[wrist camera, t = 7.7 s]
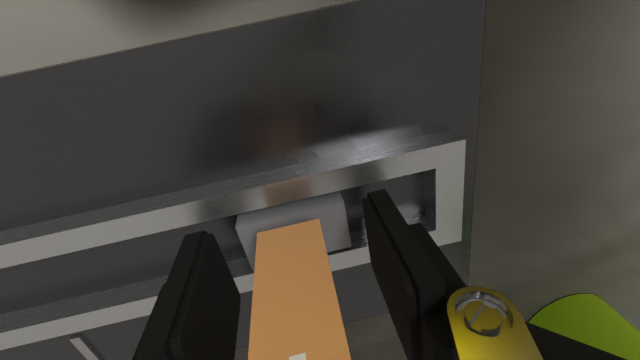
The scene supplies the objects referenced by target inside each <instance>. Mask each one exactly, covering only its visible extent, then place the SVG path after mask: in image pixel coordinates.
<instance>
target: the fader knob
mask: <svg viewBox="0 0 640 360" xmlns="http://www.w3.org/2000/svg"><path fill="white" fill-rule="evenodd" d="M235 228H236V231H237V233H238V236H239V238H240V241H241V243H242V246H243V248H244V251H245V253H246V256H247V258H248V261H249V263H250V266H251V268H252V270H254V282H253V296H252V310H251V323H250V337H249V351H248V360H351V356H350V351H349V347H348V342H347V338H346V334H345V329H344V325H343V320H342V316H341V312H340V307H339V303H338V298H337V294H336V290H335V285H334V281H333V277H332V272H331V268H330V263H329V259H328V255H327V252H330V251H335V250H339V249H343V248H347V247H352V245H351V240H350V234H349V228H348V223H347V217H346V211H345V206H344V201H343V199H342V196H341V193H340V191H336V192H331V193H327V194H323V195H318V196H314V197H310V198H305V199H301V200H297V201H292V202H288V203H284V204H279V205H275V206H270V207H266V208H262V209H257V210H253V211H249V212H244V213H240V214H238V215H237V221H236V226H235Z"/></svg>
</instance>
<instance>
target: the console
mask: <svg viewBox="0 0 640 360" xmlns="http://www.w3.org/2000/svg"><path fill="white" fill-rule="evenodd" d="M485 5H486V0H357V1H353V2H348V3H343V4H339V5H334V6H329V7H325V8H320V9H315V10H310V11H306V12H301V13H296V14H292V15H287V16H282V17H278V18H273V19H268V20H264V21H259V22H254V23H249V24H245V25H240V26H235V27H231V28H226V29H221V30H217V31H212V32H207V33H203V34H198V35H193V36H188V37H184V38H179V39H174V40H170V41H165V42H160V43H156V44H151V45H146V46H142V47H137V48H132V49H127V50H123V51H118V52H113V53H109V54H104V55H99V56H95V57H90V58H85V59H81V60H76V61H71V62H66V63H62V64H57V65H52V66H48V67H43V68H38V69H34V70H29V71H24V72H20V73H15V74H10V75H5V76H1V77H0V360H132V358H133V356H134V353H135V351H136V348H137V346H138V344H139V341H140V339H141V336H142V334H143V331H144V329H145V326H146V324H147V322H148V319H149V317H150V314H151V312H152V309H153V307H154V304H155V302H156V300H157V297H158V295H159V292H160V290H161V288H162V286H163V284H165V283H166V281H167V279H168V276H169V274H170V271H171V269H172V266H173V264H174V261H175V259H176V256H177V254H178V251H179V249H180V246H181V244H182V241H183V239H184V236H185V235H186V234H190V233H194V232H199V231H203V230H204V231H206V232H207V233H208V234H210V233H212V234H213V235H214V237H215V239H216V241H217V243H218V245H219V248H220V250H221V252H222V254H223V257H224V259H225V261H226V263H227V266H228V268H229V270H230V272H231V275H232V277H233V279H234V281H235V284H236V286H237V288H238V290H239V293H240V298H241V304H240V313H239V322H238V331H237V340H236V349H239V348H243V347H248V346H249V337H250V323H251V310H252V296H253V282H254V270H252V268H251V266H250V263H249V261H248V258H247V256H246V253H245V251H244V248H243V246H242V243H241V241H240V238H239V236H238V233H237V231H236V228H235V226H236V221H237V215H238V214H240V213H244V212H249V211H253V210H257V209H262V208H266V207H270V206H275V205H279V204H284V203H288V202H292V201H297V200H301V199H305V198H310V197H314V196H318V195H323V194H327V193H331V192H336V191H340V193H341V196H342V199H343V201H344V206H345V211H346V217H347V223H348V228H349V234H350V240H351V245H352V247H347V248H343V249H339V250H335V251H330V252H327V255H328V259H329V263H330V268H331V272H332V277H333V281H334V285H335V290H336V294H337V298H338V303H339V307H340V312H341V316H342V320H343V323H346V322H351V321H355V320H359V319H363V318H367V317H371V316H375V315H379V314H384V313H388V312H389V310H388V308H387V305H386V303H385V300H384V297H383V295H382V292H381V290H380V287H379V285H378V282H377V279H376V277H375V274H374V272H373V269H372V265H371V261H370V254H369V247H368V240H367V233H366V226H365V219H364V212H363V206H362V198H366V197H367V193H368V192H372V191H376V190H380V189H385V190H386V191H387V193H388V194H389V196H390V197H391V199H392V201H393V202H394V204H395V205H396V207H397V208H398V210H399V211H400V213H401V215H402V216H403V218H404V219H405V221H406V222H407V224H408V225H411V224H416V223H421V224H422V225H423V226H424V227H425V229H426V230H427V231H428V233H429V234H430V236H431V237H432V238H433V240H434V241H435V243H436V244H437V245H438V247H439V248H440V250H441V251H442V252H443V254H444V255H445V257H446V258H447V259H448V261H449V262H450V264H451V265H452V267H453V268H454V269H455V271H456V272H457V274H458V275H459V276H460V278H461V279H462V281H463V282H464V283H465V285H466V286H467V287H468V275H469V260H470V244H471V228H472V212H473V196H474V180H475V164H476V148H477V132H478V116H479V100H480V84H481V69H482V53H483V37H484V21H485Z"/></svg>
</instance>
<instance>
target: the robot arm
mask: <svg viewBox="0 0 640 360" xmlns="http://www.w3.org/2000/svg"><path fill="white" fill-rule="evenodd" d="M362 206H363V212H364V219H365V226H366V233H367V240H368V247H369V254H370V261H371V265H372V269H373V272H374V274H375V277H376V279H377V282H378V285H379V287H380V290H381V292H382V295H383V297H384V300H385V303H386V305H387V308H388V310H389V313H390V315H391V318H392V320H393V323H394V326H395V328H396V331H397V333H398V336H399V338H400V341H401V343H402V346H403V349H404V351H405V354H406V356H407V359H408V360H627V359H624V358H622V357H619V356H616V355H614V354H611V353H608V352H606V351H603V350H600V349H598V348H595V347H592V346H590V345H587V344H584V343H582V342H579V341H576V340H574V339H571V338H568V337H566V336H563V335H560V334H558V333H555V332H552V331H549V330H547V329H544V328H541V327H539V326H536V325H533V324H531V323H528V322H525V321H524V319H523V317H522V315H521V313H520V312H519V310H518V309H517V307H516V306H515V304H514V303H513V302H512V301H511V300H509V299H508V298H507V297H506V296H505V295H503V294H501V293H499V292H497V291H495V290H493V289H489V288H486V287H480V286H469V287H467V286H466V285H465V283H464V282H463V281H462V279H461V278H460V276H459V275H458V274H457V272H456V271H455V269H454V268H453V267H452V265H451V264H450V262H449V261H448V259H447V258H446V257H445V255H444V254H443V252H442V251H441V250H440V248H439V247H438V245H437V244H436V243H435V241H434V240H433V238H432V237H431V236H430V234H429V233H428V231H427V230H426V229H425V227H424V226H423V225H422V224H421V223H416V224H411V225H408V224H407V222H406V221H405V219H404V218H403V216H402V215H401V213H400V211H399V210H398V208H397V207H396V205H395V204H394V202H393V201H392V199H391V197H390V196H389V194H388V193H387V191H386V190H385V189H380V190H376V191H372V192H368V193H367V197H366V198H362ZM240 304H241V298H240V293H239V290H238V288H237V286H236V284H235V281H234V279H233V277H232V275H231V272H230V270H229V268H228V266H227V263H226V261H225V259H224V257H223V254H222V252H221V250H220V248H219V245H218V243H217V241H216V239H215V237H214V235H213V234H212V233H210V234H208V233H207V232H206V231H204V230H203V231H199V232H194V233H190V234H186V235H185V236H184V239H183V241H182V244H181V246H180V249H179V251H178V254H177V256H176V259H175V261H174V264H173V266H172V269H171V271H170V274H169V276H168V279H167V281H166V283H165V284H163V286H162V288H161V290H160V292H159V295H158V297H157V300H156V302H155V304H154V307H153V309H152V312H151V314H150V317H149V319H148V322H147V324H146V326H145V329H144V331H143V334H142V336H141V339H140V341H139V344H138V346H137V348H136V351H135V353H134V356H133V358H132V360H234V358H235V349H236V340H237V331H238V322H239V313H240Z"/></svg>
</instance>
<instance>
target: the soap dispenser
mask: <svg viewBox="0 0 640 360" xmlns="http://www.w3.org/2000/svg"><path fill="white" fill-rule="evenodd" d="M528 323H531V324H533V325H536V326H539V327H541V328H544V329H547V330H549V331H552V332H555V333H558V334H560V335H563V336H566V337H568V338H571V339H574V340H576V341H579V342H582V343H584V344H587V345H590V346H592V347H595V348H598V349H600V350H603V351H606V352H608V353H611V354H614V355H616V356H619V357H622V358H624V359H627V360H640V332H639V331H638V330H637V329H636V328H635V327H634V326H632V325H631V324H630V323H629V322H628V321H627V320H626V319H624V318H623V317H622V316H621V315H620V314H619V313H617V312H616V311H615V310H614V309H613V308H612V307H610V306H609V305H608V304H607V303H606V302H605V301H604V300H602V299H601V298H600V297H598V296H596V295H593V294H576V295H571V296H567V297H564V298H562V299H559V300H557V301H555V302H553V303H551V304H549V305H548V306H546V307H545V308H543V309H542V310H540V311H539V312H538V313H537V314H536V315H535V316H534V317H533V318H532V319H531V320H530V321H529V322H528Z"/></svg>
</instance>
